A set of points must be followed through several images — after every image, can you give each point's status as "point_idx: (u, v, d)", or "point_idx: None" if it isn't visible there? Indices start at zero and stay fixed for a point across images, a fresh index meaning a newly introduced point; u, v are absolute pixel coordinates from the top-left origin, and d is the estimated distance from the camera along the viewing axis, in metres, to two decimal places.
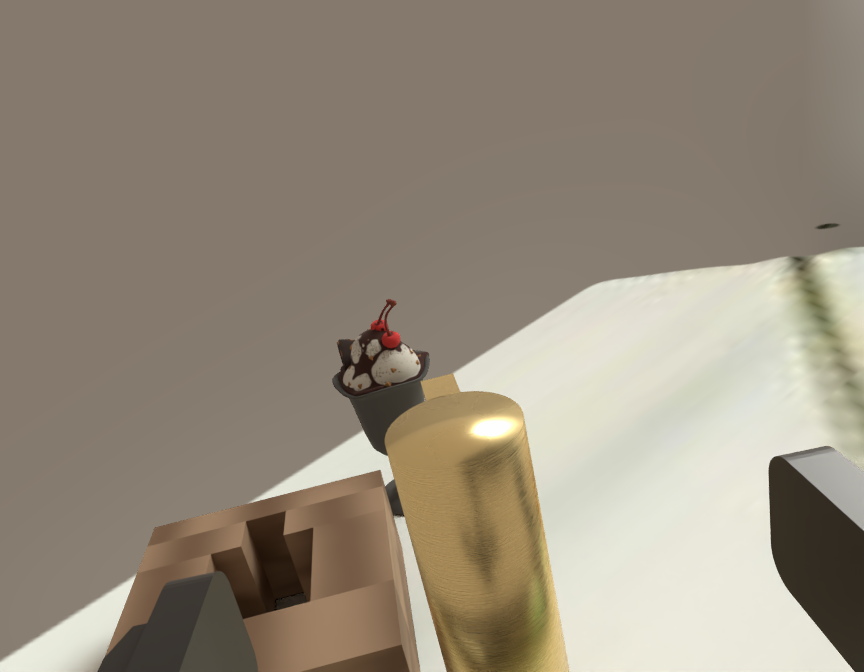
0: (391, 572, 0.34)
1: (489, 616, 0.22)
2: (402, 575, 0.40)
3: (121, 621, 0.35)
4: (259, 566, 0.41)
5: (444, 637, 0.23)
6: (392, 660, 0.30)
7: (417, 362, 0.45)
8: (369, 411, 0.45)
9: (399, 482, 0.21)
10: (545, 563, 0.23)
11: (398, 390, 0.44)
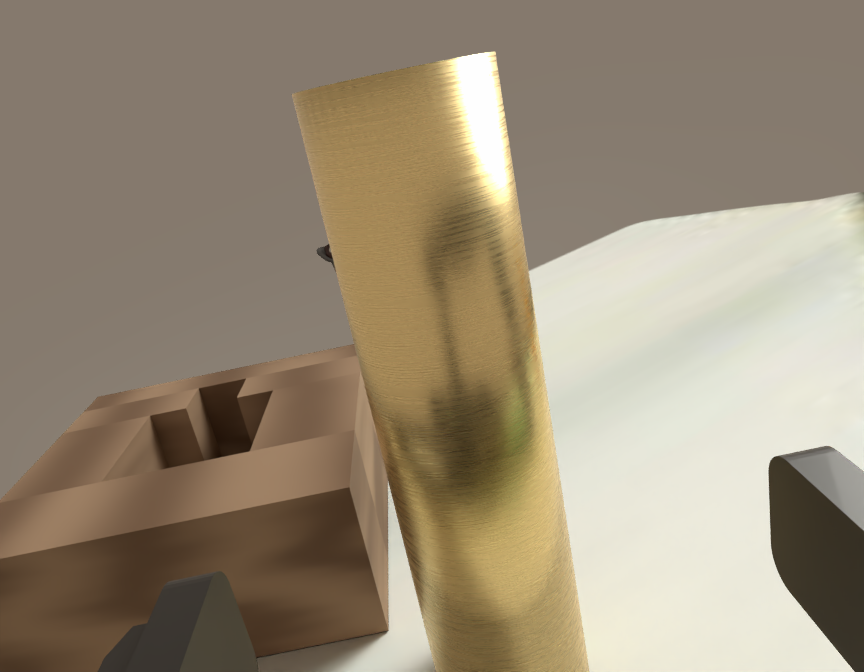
0: (353, 424, 0.27)
1: (436, 355, 0.15)
2: (378, 457, 0.32)
3: (28, 473, 0.29)
4: (213, 445, 0.35)
5: (377, 408, 0.16)
6: (337, 509, 0.23)
7: None
8: None
9: (307, 140, 0.14)
10: (524, 296, 0.15)
11: None
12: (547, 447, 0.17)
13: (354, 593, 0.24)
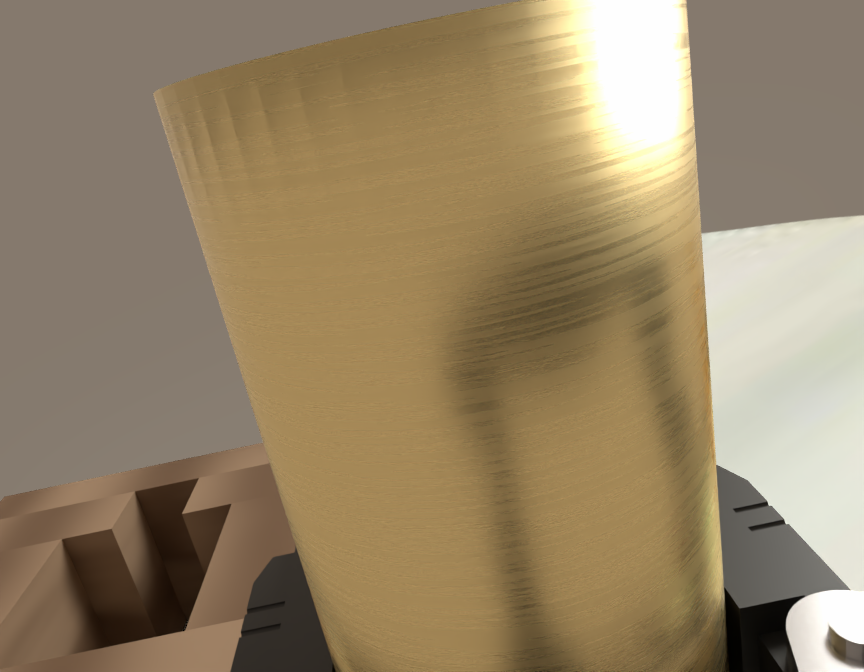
0: None
1: None
2: None
3: None
4: (155, 566, 0.26)
5: None
6: None
7: None
8: None
9: (194, 217, 0.06)
10: (720, 567, 0.07)
11: None
12: None
13: None
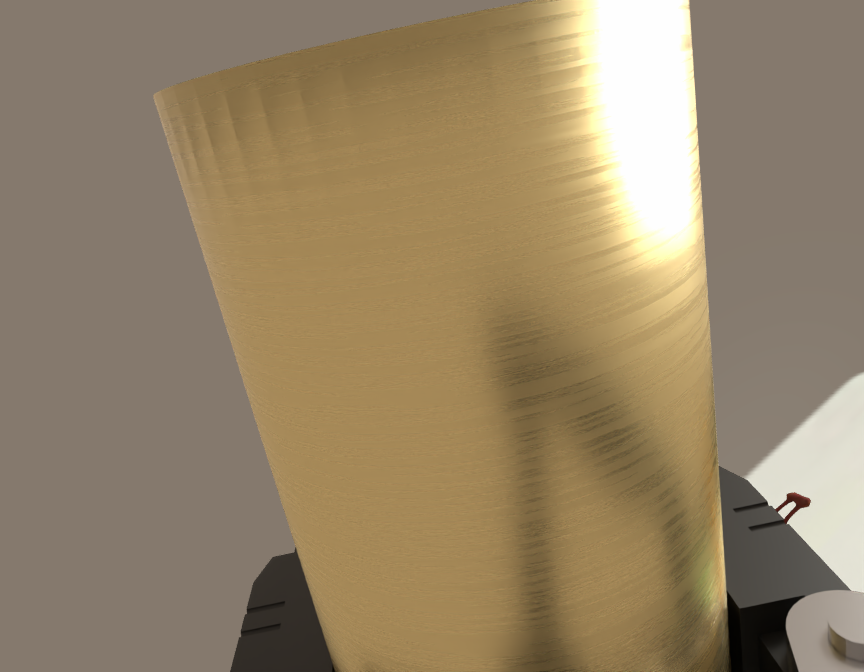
0: None
1: None
2: None
3: None
4: None
5: None
6: None
7: None
8: None
9: (194, 219, 0.05)
10: (723, 570, 0.07)
11: None
12: None
13: None
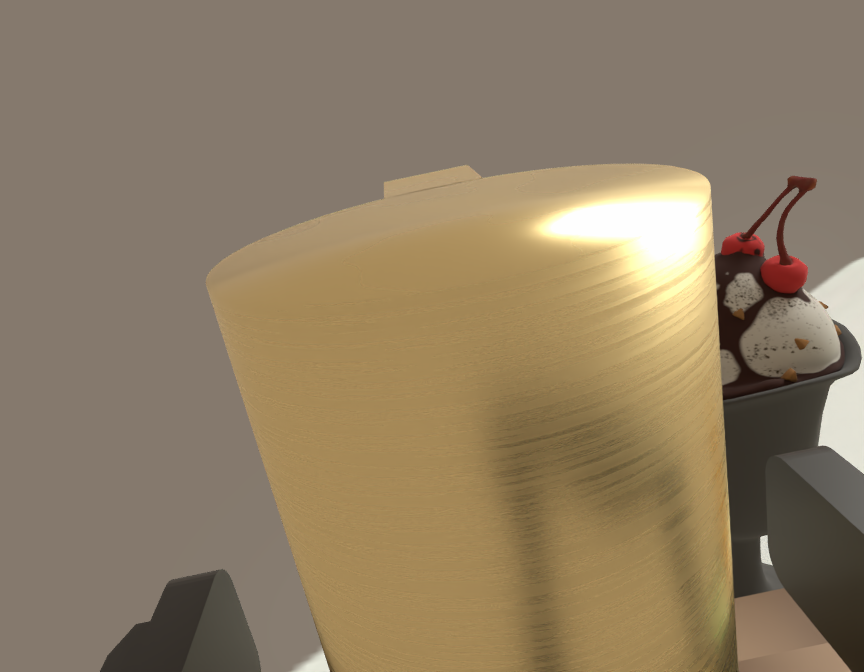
0: None
1: None
2: None
3: None
4: None
5: None
6: None
7: (838, 330, 0.19)
8: None
9: (243, 397, 0.06)
10: None
11: (807, 392, 0.19)
12: None
13: None
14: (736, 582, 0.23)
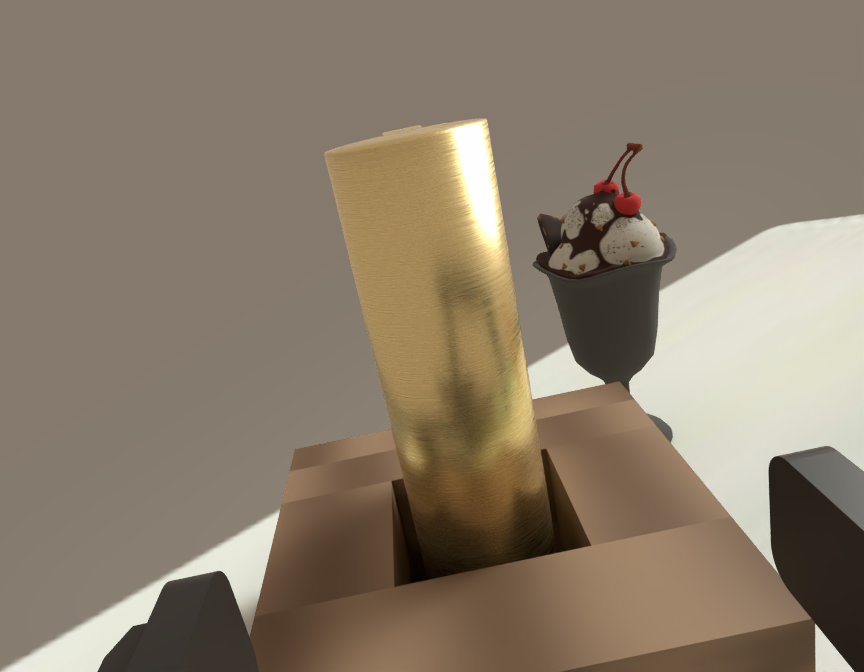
0: (720, 507, 0.20)
1: (440, 362, 0.18)
2: None
3: (271, 567, 0.22)
4: None
5: (392, 405, 0.20)
6: (791, 647, 0.16)
7: (662, 238, 0.32)
8: (590, 305, 0.32)
9: (337, 191, 0.18)
10: (511, 314, 0.19)
11: (639, 273, 0.31)
12: (531, 436, 0.20)
13: None
14: None
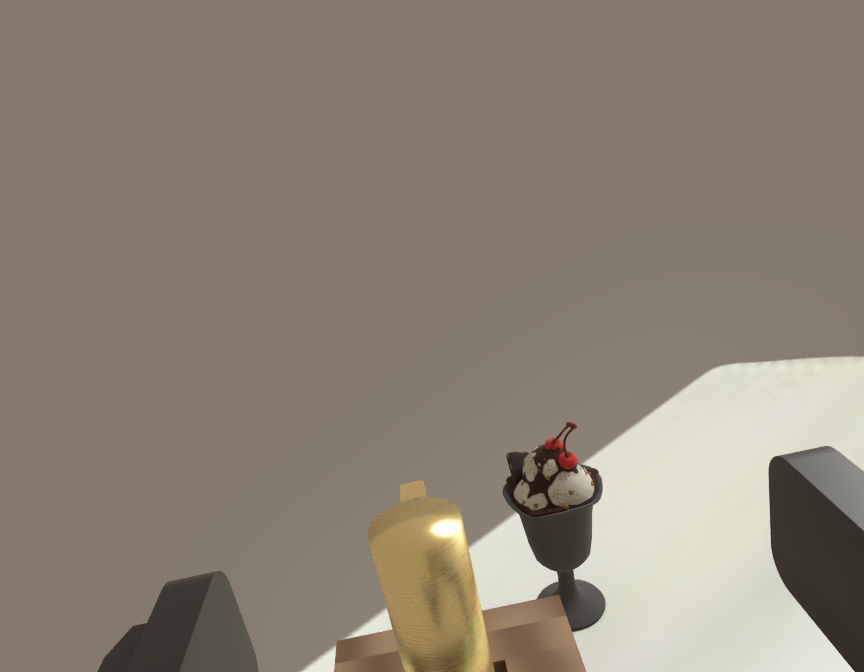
0: None
1: (434, 656, 0.32)
2: None
3: None
4: None
5: (406, 668, 0.33)
6: None
7: (592, 483, 0.45)
8: (542, 529, 0.45)
9: (375, 562, 0.32)
10: (476, 621, 0.33)
11: (574, 512, 0.44)
12: None
13: None
14: (563, 591, 0.49)
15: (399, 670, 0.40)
